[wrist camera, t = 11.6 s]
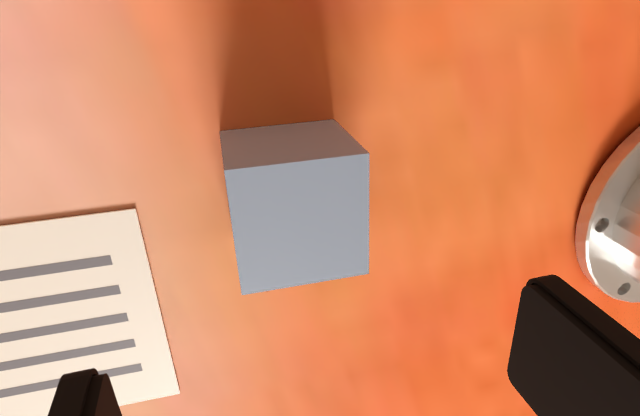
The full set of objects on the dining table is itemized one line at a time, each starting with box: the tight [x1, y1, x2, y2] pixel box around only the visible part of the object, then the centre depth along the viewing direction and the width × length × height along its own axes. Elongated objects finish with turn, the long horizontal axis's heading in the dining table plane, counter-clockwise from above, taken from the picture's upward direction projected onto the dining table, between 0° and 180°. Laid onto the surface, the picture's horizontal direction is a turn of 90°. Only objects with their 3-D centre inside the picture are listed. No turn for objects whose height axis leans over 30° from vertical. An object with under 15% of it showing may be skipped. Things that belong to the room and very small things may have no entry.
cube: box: [220, 119, 369, 295], centre depth 19 cm, size 5×5×5 cm
